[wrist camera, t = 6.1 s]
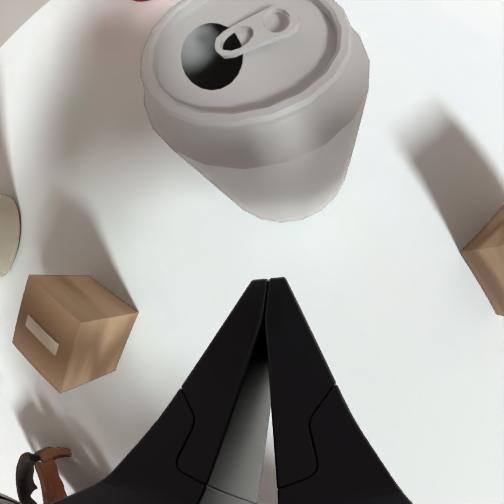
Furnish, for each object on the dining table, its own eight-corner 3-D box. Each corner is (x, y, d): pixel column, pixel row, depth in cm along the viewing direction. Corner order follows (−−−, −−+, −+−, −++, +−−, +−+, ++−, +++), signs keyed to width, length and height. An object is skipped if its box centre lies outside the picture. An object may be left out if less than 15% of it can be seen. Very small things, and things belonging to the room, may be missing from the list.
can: (212, 132, 20) (115, 11, 8) (321, 97, 19) (313, -55, 7) (241, 240, 19) (131, 192, 7) (363, 204, 18) (428, 100, 6)
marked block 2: (115, 370, 20) (58, 393, 14) (68, 331, 21) (10, 342, 15) (139, 312, 20) (80, 322, 14) (88, 275, 21) (27, 273, 15)
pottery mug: (78, 516, 21) (13, 513, 15) (79, 443, 26) (12, 430, 20) (155, 558, 16) (77, 573, 10) (155, 469, 21) (70, 467, 15)
